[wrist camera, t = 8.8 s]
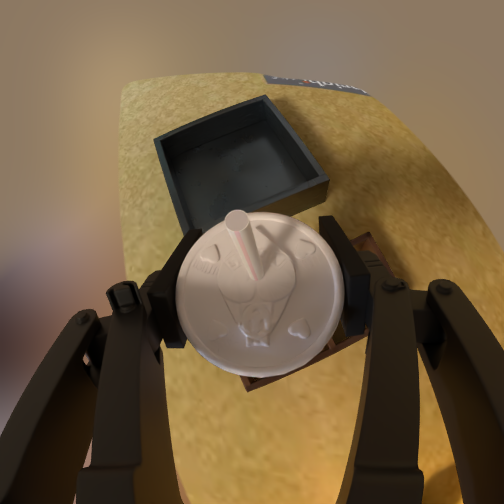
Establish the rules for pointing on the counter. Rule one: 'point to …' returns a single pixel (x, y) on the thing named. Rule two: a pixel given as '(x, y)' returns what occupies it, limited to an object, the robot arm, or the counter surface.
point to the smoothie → (259, 294)
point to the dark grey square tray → (239, 166)
